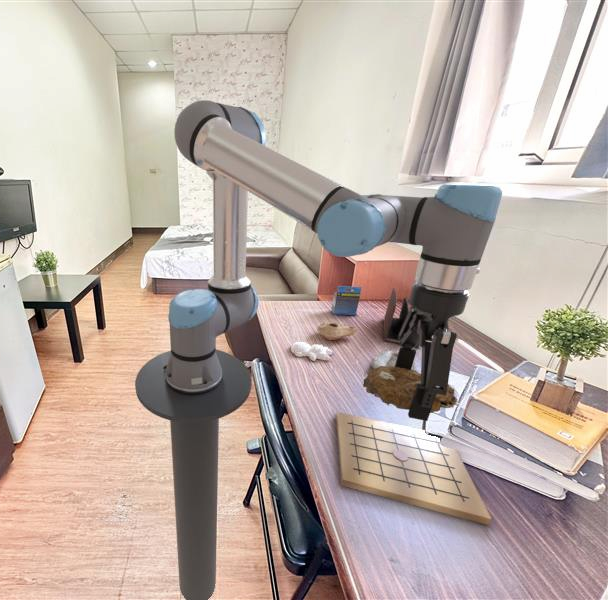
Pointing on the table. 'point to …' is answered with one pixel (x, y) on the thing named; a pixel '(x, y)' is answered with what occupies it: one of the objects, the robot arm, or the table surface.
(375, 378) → the decorative rock
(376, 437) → the grid board
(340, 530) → the table surface
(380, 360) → the fossil
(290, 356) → the table surface
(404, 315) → the letter holder
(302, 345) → the astronaut figurine
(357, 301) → the label tape box
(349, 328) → the pottery oil lamp
